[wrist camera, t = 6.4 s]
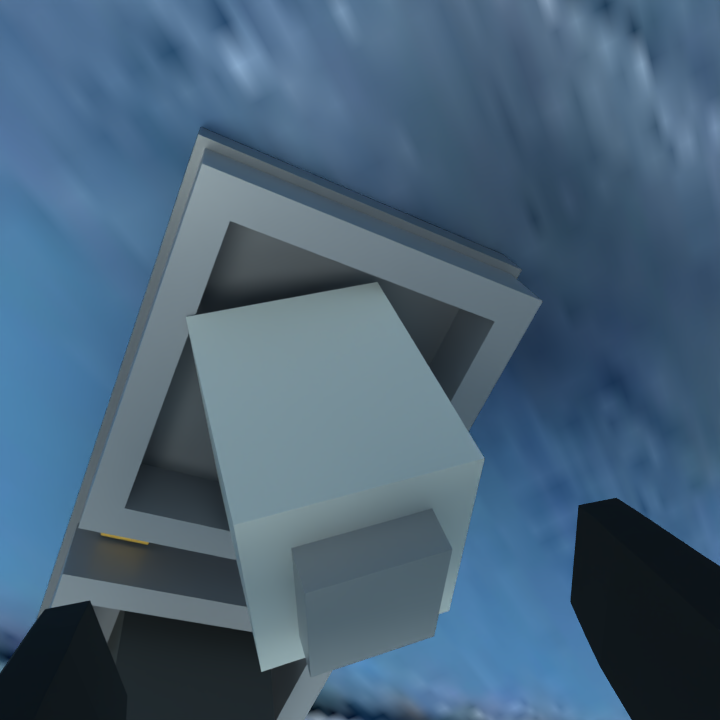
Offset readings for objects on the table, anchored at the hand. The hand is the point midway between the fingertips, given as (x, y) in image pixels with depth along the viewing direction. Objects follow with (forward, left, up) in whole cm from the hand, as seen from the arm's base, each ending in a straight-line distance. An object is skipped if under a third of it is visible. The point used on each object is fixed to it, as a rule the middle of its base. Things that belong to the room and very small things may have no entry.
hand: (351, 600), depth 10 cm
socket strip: (0, +5, -8) cm, 10 cm away
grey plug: (0, 0, -6) cm, 6 cm away
